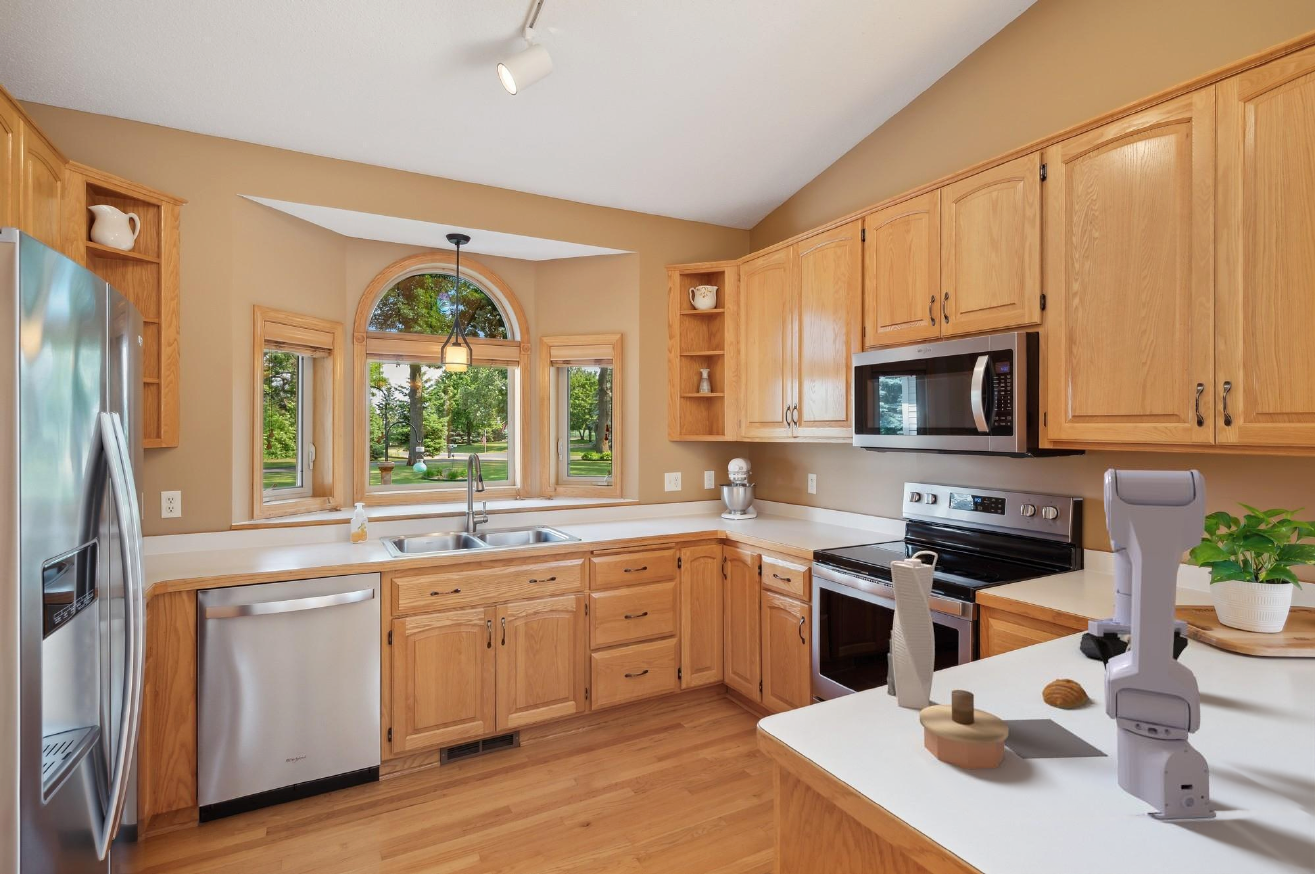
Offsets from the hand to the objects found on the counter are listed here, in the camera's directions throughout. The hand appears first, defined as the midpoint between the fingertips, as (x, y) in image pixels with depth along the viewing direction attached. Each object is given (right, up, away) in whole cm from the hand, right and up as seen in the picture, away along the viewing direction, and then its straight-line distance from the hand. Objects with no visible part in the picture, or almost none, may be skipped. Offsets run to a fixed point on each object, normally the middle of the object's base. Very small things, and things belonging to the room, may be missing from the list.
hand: (1138, 681), depth 100 cm
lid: (-29, -5, -3) cm, 30 cm away
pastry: (-1, -11, +17) cm, 20 cm away
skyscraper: (-29, -11, +15) cm, 34 cm away
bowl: (-29, -10, -4) cm, 31 cm away
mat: (-15, -10, +1) cm, 18 cm away
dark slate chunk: (+30, -12, +47) cm, 57 cm away
